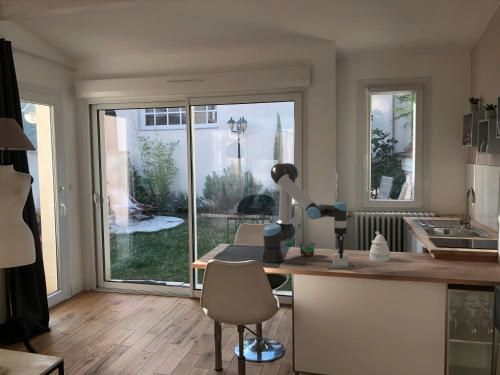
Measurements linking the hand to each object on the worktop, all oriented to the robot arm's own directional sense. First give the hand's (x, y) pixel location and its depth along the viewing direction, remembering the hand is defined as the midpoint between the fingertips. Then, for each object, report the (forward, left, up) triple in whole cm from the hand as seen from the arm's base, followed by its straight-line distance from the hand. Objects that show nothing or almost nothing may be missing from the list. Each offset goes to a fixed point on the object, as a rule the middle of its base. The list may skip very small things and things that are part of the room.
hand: (340, 260), depth 264 cm
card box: (0, 0, -3) cm, 3 cm away
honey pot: (+27, +22, -4) cm, 35 cm away
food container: (-20, +25, -4) cm, 32 cm away
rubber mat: (0, 0, -4) cm, 4 cm away
